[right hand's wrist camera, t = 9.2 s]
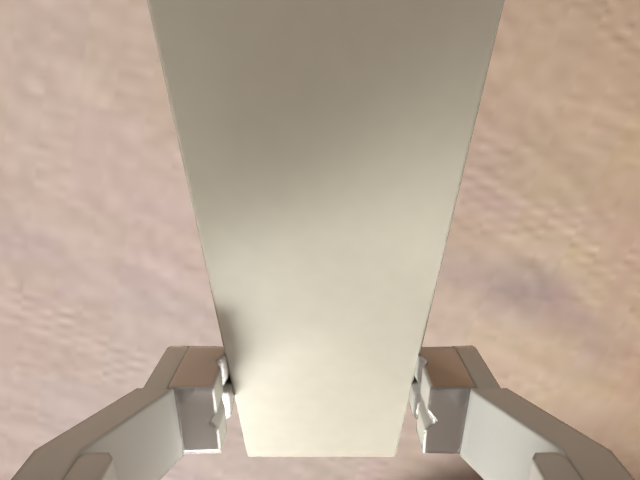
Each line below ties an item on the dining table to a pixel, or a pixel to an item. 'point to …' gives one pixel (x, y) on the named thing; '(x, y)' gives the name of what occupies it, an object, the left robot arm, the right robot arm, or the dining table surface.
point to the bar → (323, 196)
